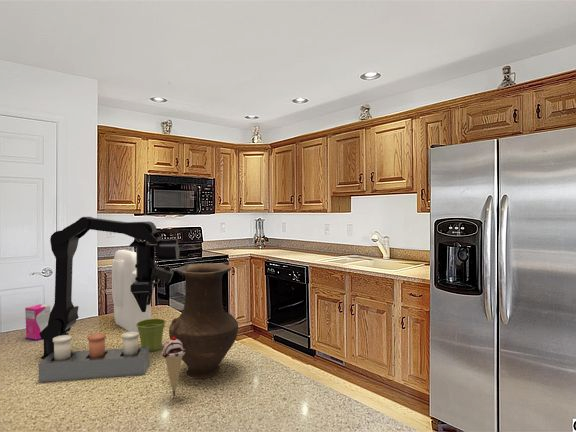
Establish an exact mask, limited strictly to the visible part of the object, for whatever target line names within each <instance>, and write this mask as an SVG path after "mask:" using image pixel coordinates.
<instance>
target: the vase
mask: <svg viewBox="0 0 576 432" xmlns="http://www.w3.org/2000/svg"><path fill="white" fill-rule="evenodd" d="M231 270H232V267H231V265H229V264H224V263H191V264H188V265H183V266H179V267H177V268H176V272H177V274H180V275H183V276H184V278H185V279H184V280H185V284H184V286H185V288H184V289H185V294H184V295H185V296H184V306H183V309H182V311H181V314H180V315H179V316H178V317H177V318H173V319H172V320H171V323H170V325H169V327H168V336H169V337H168V338H169V340H170V339H171V338H172V337H175V338H176V339H178V340H181V343H182V345H183V348H184V349H185V351H186V352H185V354H184V355H183V356H182V362H183V363H184V364H185V365H186V367H187V369H186V371H185V374H186V376H187V377H188V378H193V379H206V378H210V377H215V376H216V375H218V373H219V372H220V370H221V369H222V368H221V366H220V364H221V363H222V361H223V360H224V358H225V357H226V355H227V354H228V353H229V352H230V349H231V348H232V347H233V345H234V344H235V341H236V339H237V337H238V333H239V322H238V320H237V319H236V318H235V317H234V316H233V315H232V314H231V313H229V312H226V311H225V309H224V305H223V276H224V274H226V273H228V272H230V271H231Z"/></svg>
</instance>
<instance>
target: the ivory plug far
mask: <svg viewBox="0 0 576 432" xmlns="http://www.w3.org/2000/svg"><path fill="white" fill-rule="evenodd" d="M139 337H140V334H139V332H137V331H130V332H129V331H125V332H123V333H122V334H121V338H122V349H123V356H133V355H138V347H139Z"/></svg>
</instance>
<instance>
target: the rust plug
mask: <svg viewBox="0 0 576 432" xmlns="http://www.w3.org/2000/svg"><path fill="white" fill-rule="evenodd" d="M106 337H107V335H106V333H103V332H99V333H98V332H97V333H93V334H90V335H87V341H88V351H89V358H104V356H105V350H106V343H105V341H106V340H105V339H106Z"/></svg>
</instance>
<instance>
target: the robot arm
mask: <svg viewBox="0 0 576 432" xmlns="http://www.w3.org/2000/svg"><path fill="white" fill-rule="evenodd" d="M90 230H92V231H98V232H99V231H100V232H107V233H113V234H123V235H125V236H128V237H130V238H133V239H134V240H133V241H132V242H131V243H130V244H129V247H130V248H136V249H135V250H136V265H135V268H136V274H137V277H135V282H134V283H133V284H132V285H131V292H132V294H133V295H134V297H135V299H136V301H137V303H138V305H139V307H140V309H141V311H142V312H146V307H147V305H150V303H152V296H153V292H154V289H155V287H156V286H157V285H159V282H160V281H162V282H164V283H168V284H170V282H171V280H172V278H173V276H174V271H173V270H172V269H171V266H169V265H165V266H164V267H159V266H158V263H157V262H156V258H157V259H158V260H160V261H178V260H179V259H180V245H179V242H178V238H172V239H164V238H163V237H162V236H161V235H160V234H159V232H158V231H157V226H156V225H155V223H154V222H153V221H130V222H129V221H122V220H121V221H120V220H113V219H106V218H97V217H92V216H81V217H80V218H79V219H78V220H76V221H75V222H73V223H72V224H70V225H68V226H66V227H64V228H63V229H62V230H56V231H54V232H53V233H51V236H50V238H49V239H50V240H49V242H50V248H51V252H52V254H53V256H54V258H55V274H54V275H55V277H54V279H55V280H54V303H53V306H52V309H50V311H51V313H50V316H49V320H48V325H47V326H46V327H45V328H44V329H43V330H42V331H41V332H40V333H39V334H40V337H41V340H42V341H43V355H42V356H40V357H41V359H45V358H46V357H47V356H48V355H49V354H51V353H54V342H53V338H54V337H57V336H61V335H70V334H69V332H70V331H71V328H72V327H73V326H74V325H75V324H76V322H77V319H79V315H78V313H79V306H78V305H74V304H73V303H74V302H72V298H73V297H72V294H73V293H72V292H73V261H74V256H75V254H76V251H77V250H78V245H79V240H80V239H81V238H82V237H84V236H85V235H86V234H88V232H89V231H90Z"/></svg>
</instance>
